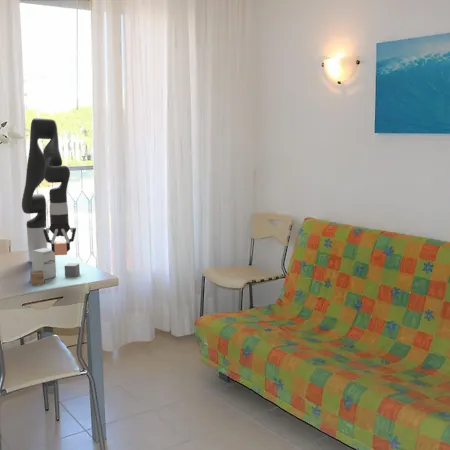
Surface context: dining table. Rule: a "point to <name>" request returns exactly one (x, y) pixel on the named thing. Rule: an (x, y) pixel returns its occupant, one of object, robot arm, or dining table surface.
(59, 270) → the dining table surface
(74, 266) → the charcoal cube
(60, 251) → the terracotta cube
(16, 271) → the dining table surface
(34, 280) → the walnut cube
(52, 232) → the robot arm
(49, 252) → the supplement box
